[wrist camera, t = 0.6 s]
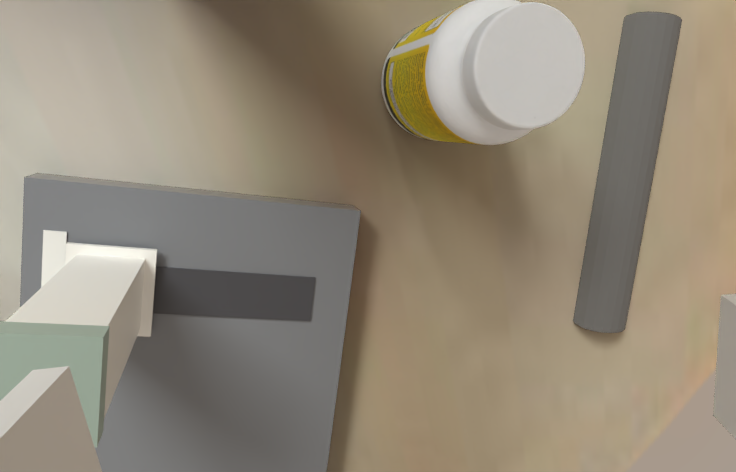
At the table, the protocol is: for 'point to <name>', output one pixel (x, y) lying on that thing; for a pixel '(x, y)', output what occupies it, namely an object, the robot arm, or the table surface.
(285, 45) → the table surface
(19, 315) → the lever
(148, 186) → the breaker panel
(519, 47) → the pill bottle
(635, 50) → the half round rod
